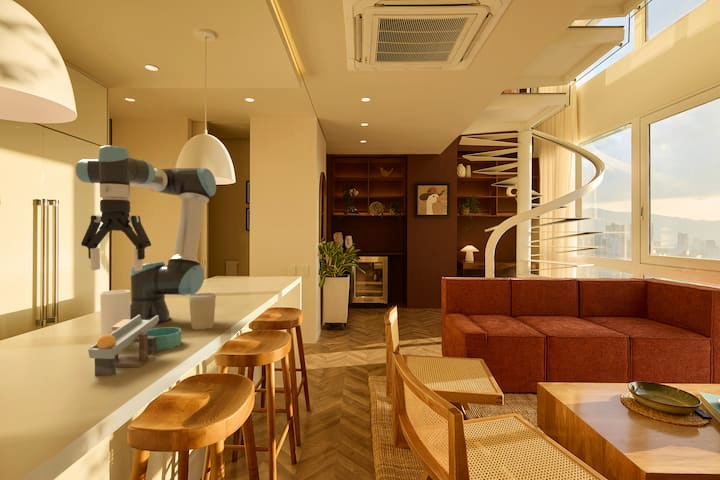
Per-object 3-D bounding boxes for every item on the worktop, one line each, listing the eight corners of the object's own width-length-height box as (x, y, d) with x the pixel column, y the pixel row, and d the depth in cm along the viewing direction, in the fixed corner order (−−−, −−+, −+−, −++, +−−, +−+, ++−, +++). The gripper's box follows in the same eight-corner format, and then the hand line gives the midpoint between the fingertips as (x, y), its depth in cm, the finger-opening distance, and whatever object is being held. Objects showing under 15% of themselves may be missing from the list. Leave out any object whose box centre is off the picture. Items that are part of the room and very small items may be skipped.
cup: (136, 336, 127) (135, 290, 126) (118, 344, 118) (117, 294, 118) (113, 336, 127) (113, 289, 127) (94, 343, 119) (93, 293, 119)
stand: (132, 350, 113) (132, 324, 112) (167, 351, 112) (167, 325, 112) (81, 374, 94) (81, 343, 94) (123, 376, 93) (123, 344, 93)
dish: (156, 339, 124) (155, 326, 124) (187, 340, 123) (187, 327, 123) (133, 349, 113) (133, 336, 113) (168, 350, 112) (168, 337, 112)
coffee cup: (207, 322, 147) (206, 292, 147) (221, 326, 142) (220, 294, 141) (184, 327, 140) (183, 295, 139) (198, 331, 134) (197, 298, 134)
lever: (124, 325, 113) (122, 314, 112) (160, 326, 112) (159, 315, 111) (71, 361, 94) (68, 348, 93) (114, 362, 93) (112, 349, 92)
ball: (106, 344, 97) (103, 331, 96) (121, 345, 97) (117, 331, 96) (95, 353, 94) (91, 339, 92) (110, 354, 93) (106, 340, 92)
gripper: (65, 198, 108) (67, 271, 109) (147, 198, 106) (148, 272, 108) (85, 199, 116) (87, 267, 117) (162, 200, 114) (164, 269, 115)
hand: (117, 270), depth 112 cm, fingers open, 13 cm apart
